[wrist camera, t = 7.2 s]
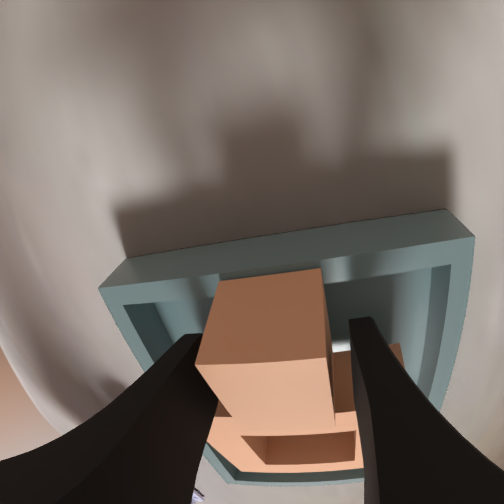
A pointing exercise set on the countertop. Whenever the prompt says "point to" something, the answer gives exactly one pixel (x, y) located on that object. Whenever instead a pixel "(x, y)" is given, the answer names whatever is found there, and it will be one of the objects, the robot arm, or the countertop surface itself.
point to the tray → (336, 293)
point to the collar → (279, 377)
